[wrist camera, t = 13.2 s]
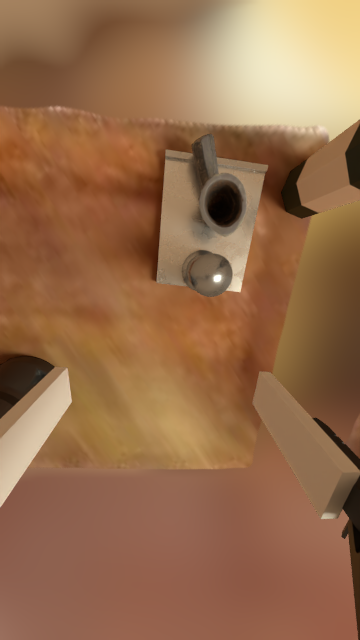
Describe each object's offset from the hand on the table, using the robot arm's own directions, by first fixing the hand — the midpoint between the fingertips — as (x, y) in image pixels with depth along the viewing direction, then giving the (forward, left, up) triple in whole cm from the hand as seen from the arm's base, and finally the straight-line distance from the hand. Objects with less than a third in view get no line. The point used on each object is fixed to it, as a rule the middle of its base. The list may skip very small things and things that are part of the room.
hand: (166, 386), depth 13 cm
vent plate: (+5, +14, -26) cm, 29 cm away
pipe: (+4, +19, -24) cm, 31 cm away
